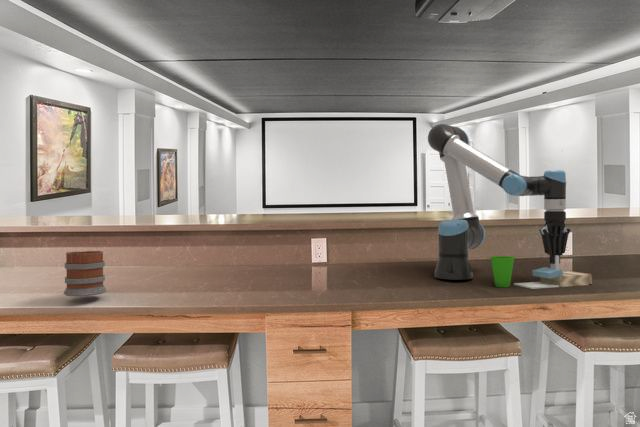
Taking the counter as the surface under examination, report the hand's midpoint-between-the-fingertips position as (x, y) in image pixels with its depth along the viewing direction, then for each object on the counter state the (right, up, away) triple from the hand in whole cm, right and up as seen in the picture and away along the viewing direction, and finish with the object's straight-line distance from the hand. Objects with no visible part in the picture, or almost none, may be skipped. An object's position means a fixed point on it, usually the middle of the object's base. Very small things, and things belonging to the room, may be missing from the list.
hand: (554, 272), depth 190 cm
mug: (-175, -7, -8) cm, 175 cm away
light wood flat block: (+5, -5, +1) cm, 7 cm away
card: (-3, -1, -1) cm, 4 cm away
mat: (-8, -5, -3) cm, 10 cm away
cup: (-21, -5, -3) cm, 22 cm away
